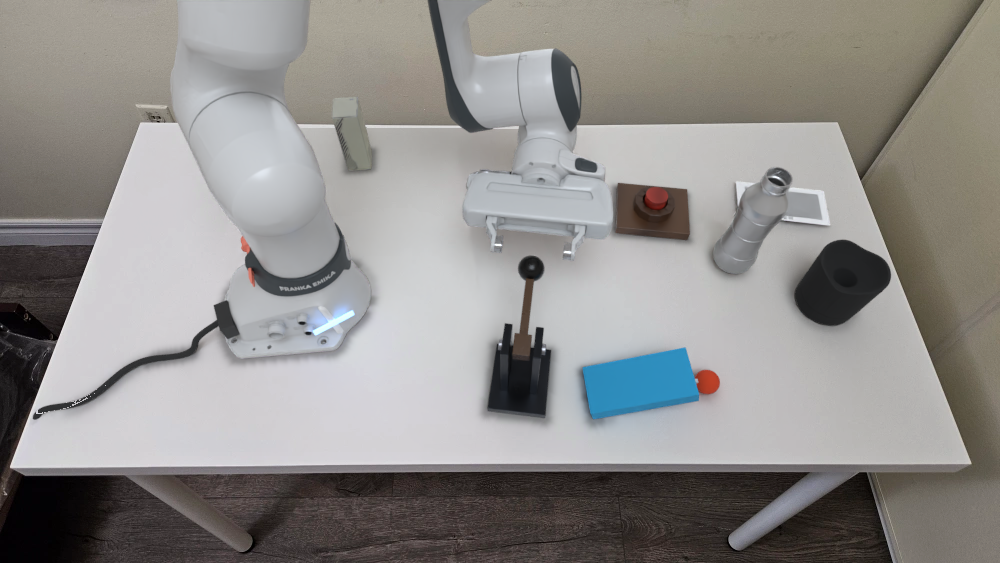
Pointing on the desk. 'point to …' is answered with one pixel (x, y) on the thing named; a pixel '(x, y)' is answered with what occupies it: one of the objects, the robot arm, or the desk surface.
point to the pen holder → (841, 282)
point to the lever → (526, 305)
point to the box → (352, 133)
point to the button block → (651, 213)
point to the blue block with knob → (645, 383)
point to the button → (656, 198)
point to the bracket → (520, 378)
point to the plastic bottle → (753, 221)
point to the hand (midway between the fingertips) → (532, 253)
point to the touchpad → (799, 204)
